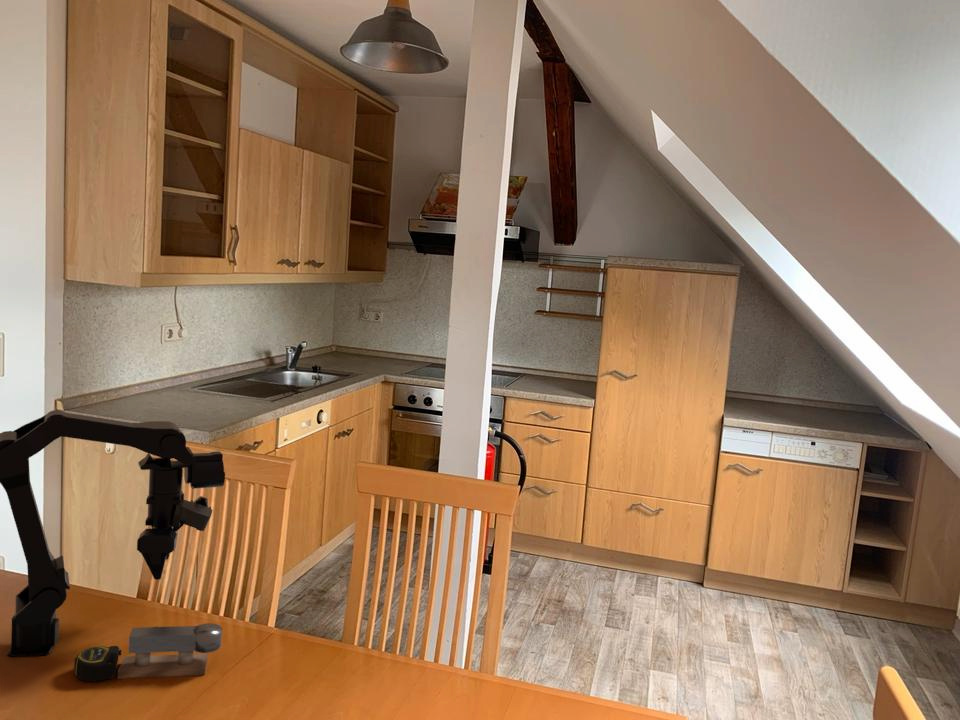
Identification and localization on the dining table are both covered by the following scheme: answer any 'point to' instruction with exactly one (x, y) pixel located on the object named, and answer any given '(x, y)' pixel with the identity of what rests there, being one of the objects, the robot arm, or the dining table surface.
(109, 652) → the tape measure
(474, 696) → the dining table surface
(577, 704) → the dining table surface
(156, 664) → the peg stand
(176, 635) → the grey bar with knob
